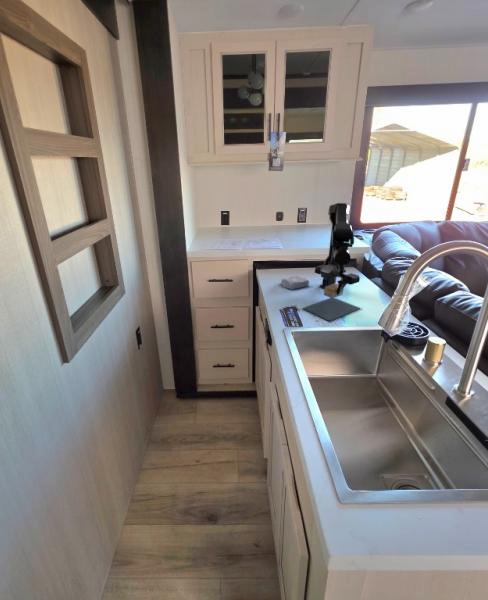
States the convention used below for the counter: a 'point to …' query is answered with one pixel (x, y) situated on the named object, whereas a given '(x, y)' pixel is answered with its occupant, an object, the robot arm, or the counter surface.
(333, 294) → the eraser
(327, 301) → the slate mat
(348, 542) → the counter surface
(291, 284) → the stone block
